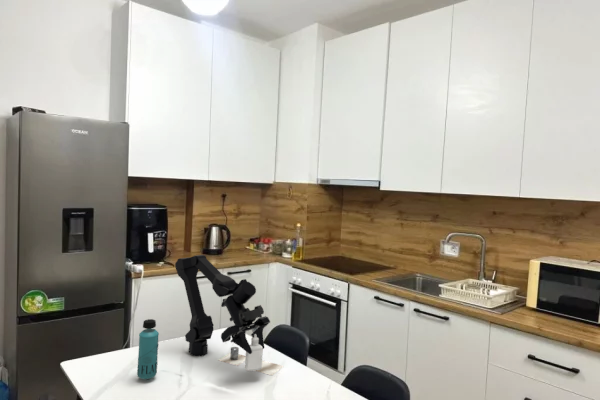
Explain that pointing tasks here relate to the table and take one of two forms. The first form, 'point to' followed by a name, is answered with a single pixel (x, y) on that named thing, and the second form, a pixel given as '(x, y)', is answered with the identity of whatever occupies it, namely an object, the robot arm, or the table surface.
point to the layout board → (266, 368)
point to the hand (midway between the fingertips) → (257, 351)
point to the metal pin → (234, 353)
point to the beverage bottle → (148, 350)
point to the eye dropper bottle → (254, 355)
